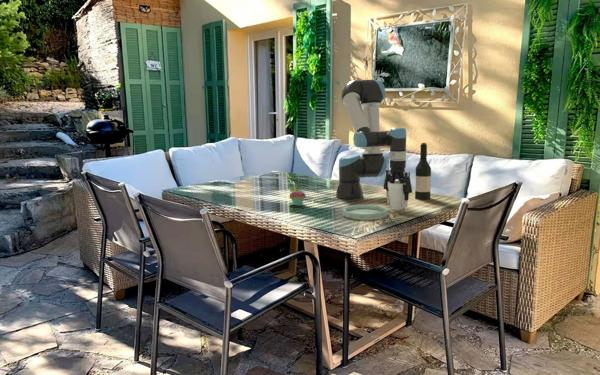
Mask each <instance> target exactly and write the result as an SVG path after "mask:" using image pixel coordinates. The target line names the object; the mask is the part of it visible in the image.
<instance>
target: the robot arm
mask: <svg viewBox="0 0 600 375" xmlns="http://www.w3.org/2000/svg"><path fill="white" fill-rule="evenodd" d="M385 88H386V87H385V85H384V83H383V81H382V80H379V79H354V80H350V81H348V83H346V84H345V85H344V87H343V88H342V91H341V97H340V98H341V102H342V104H343V105H344V106H345V107H346V110H347V113H348V116H349V117H350V121H351V123H352V126H353V127H352V128H353V129H354V134H353V139H352V140H353V145H354V147H356V148H364V151H363V152H362V153H361V156H360V154H357V153H356V154H350V155H348V154H347V155H343V156H341V157H340V158H339V159H338V186H337V189H336V192H335V197H336V198H337V199H343V200H356V199H361V198H363V197H364V192H363V188H362V185H361V180H360V179H361V178H377V177H379V178H380V177H383V176H384V175H385V179H384V182H383V190H385V191H386V198H387V199H386V203H387V205H390V198H389V190H388V182H390V183H393V184H394V182H395V181H400V184H403V192H404V193H403V202H402V207H404V208H407V207H408V204H409V203H408V202H409V198H410V197H409V196H410V195H409V194H411V193H413V188H412V184H411V172H409V171H406V170H405V169H406V165H407V161H406V159H407V129H406V128H405V127H391V129H390V130H383V131H382V130H380V106H382V102H383V101H385V98H386V89H385ZM381 147H389V168H390V169H387V167H388V160H387V157H386V156H385V155H384V153H383V151H382V150H381ZM404 183H405V184H406V185H405V184H404Z"/></svg>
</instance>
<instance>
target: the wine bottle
mask: <svg viewBox="0 0 600 375" xmlns="http://www.w3.org/2000/svg"><path fill="white" fill-rule="evenodd" d="M427 154H428V144H427V143H426V142H421V144H420V158H419V162H418V163H417V165H416V166H415V177H414V178H415V182H414V189H415V190H414V198H415V200H420V201H423V200H425V201H427V200H430V199H431V185H432V184H431V183H432V178H431V176H432V167H431V165H430V164H429V162H428V161H427V159H428V157H427V156H428V155H427Z"/></svg>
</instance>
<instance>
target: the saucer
mask: <svg viewBox="0 0 600 375" xmlns="http://www.w3.org/2000/svg"><path fill="white" fill-rule="evenodd" d="M388 214H389V210H388V209H387V207H385V206H380V205H375V204H354V205H348V206H345V207H343V208H342V216H343V217H345V218H348V219H352V220H357V221H358V220H360V221H361V220H362V221H371V220H372V221H373V220H379V219H380V220H381V219H385V218H386V217H387V216H388Z"/></svg>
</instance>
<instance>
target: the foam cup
mask: <svg viewBox="0 0 600 375" xmlns="http://www.w3.org/2000/svg"><path fill="white" fill-rule="evenodd" d="M404 184H405V183H404ZM405 185H406V184H405ZM388 190H389V198H390V204H389V205H390V209H391V210H395V211H401V210H404V208H405V207H402V202H403V193H404V192H403V184H400V181H399V180H395V182H394V184H393V183H390V182H388Z"/></svg>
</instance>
